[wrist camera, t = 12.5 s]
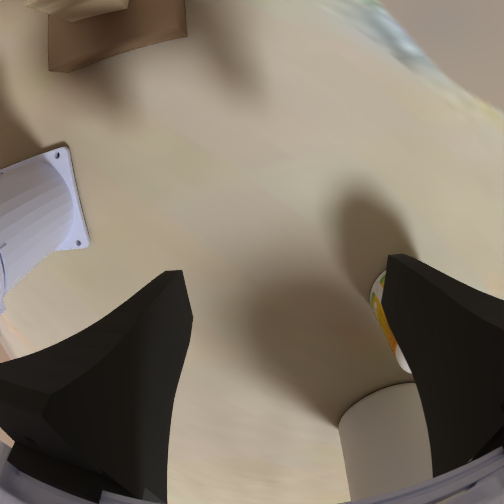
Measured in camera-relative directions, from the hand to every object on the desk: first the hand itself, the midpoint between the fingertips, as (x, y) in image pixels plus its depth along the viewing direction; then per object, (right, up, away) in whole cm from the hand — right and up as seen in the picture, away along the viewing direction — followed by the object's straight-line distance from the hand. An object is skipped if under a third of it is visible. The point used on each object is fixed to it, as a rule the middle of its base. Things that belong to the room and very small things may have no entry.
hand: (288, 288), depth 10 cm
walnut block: (-10, +18, +3) cm, 21 cm away
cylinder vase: (+15, -19, +21) cm, 32 cm away
